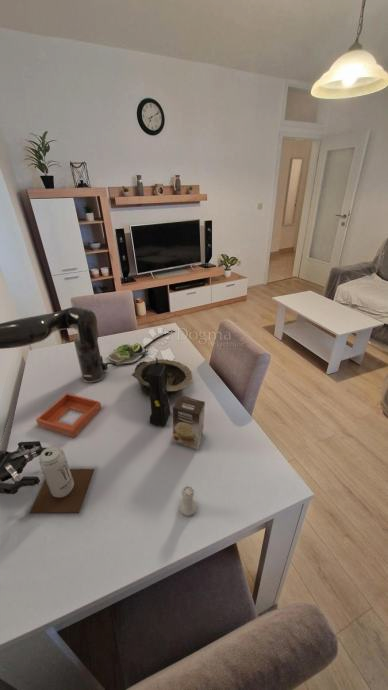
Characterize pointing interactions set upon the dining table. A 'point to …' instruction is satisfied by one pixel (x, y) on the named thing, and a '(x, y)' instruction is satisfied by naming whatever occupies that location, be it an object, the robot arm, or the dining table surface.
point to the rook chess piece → (187, 501)
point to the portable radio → (158, 394)
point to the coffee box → (188, 422)
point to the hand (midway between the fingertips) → (46, 465)
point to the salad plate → (127, 353)
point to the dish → (62, 406)
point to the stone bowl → (174, 372)
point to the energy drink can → (56, 471)
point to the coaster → (67, 503)
